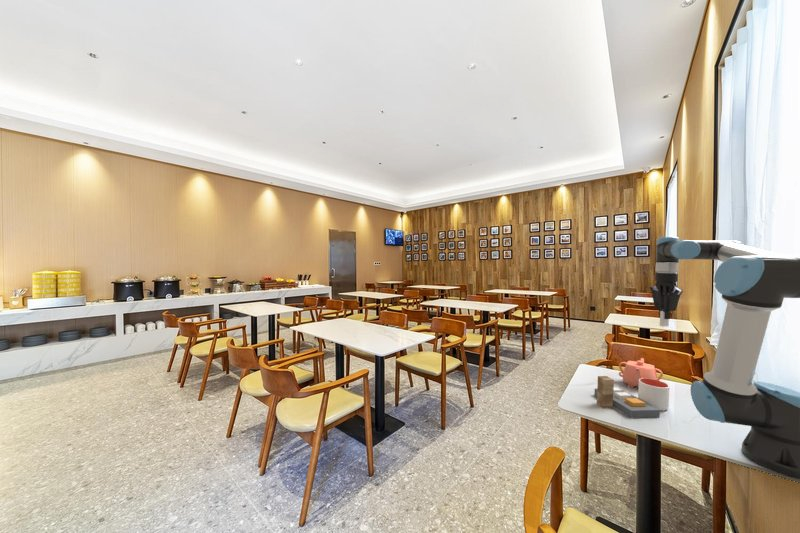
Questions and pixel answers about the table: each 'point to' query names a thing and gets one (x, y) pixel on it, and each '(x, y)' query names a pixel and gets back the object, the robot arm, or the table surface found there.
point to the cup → (654, 393)
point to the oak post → (605, 392)
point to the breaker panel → (628, 410)
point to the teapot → (638, 372)
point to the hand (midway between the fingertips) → (664, 325)
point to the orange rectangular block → (634, 402)
